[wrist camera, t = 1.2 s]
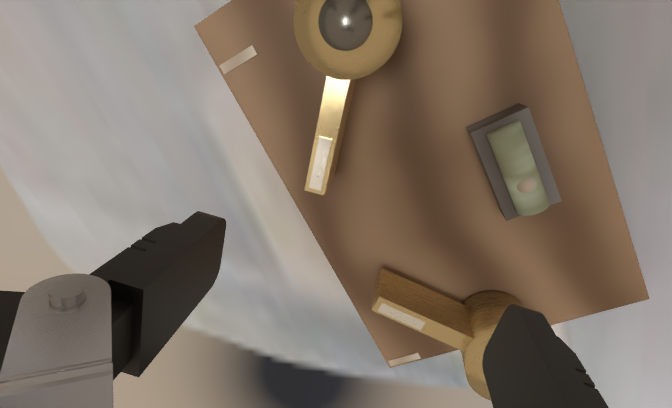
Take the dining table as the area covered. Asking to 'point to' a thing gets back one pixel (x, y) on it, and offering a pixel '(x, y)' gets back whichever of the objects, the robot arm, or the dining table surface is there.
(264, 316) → the dining table surface
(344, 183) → the levelling plate
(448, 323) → the dial
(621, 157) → the dining table surface
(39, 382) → the robot arm
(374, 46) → the dial
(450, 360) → the dining table surface
